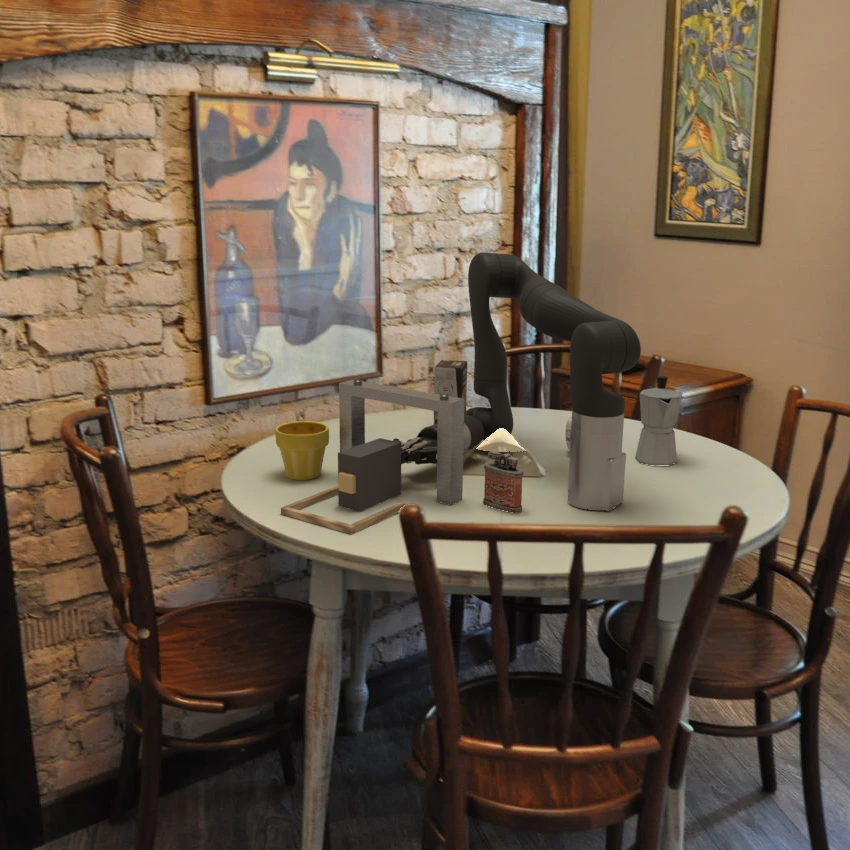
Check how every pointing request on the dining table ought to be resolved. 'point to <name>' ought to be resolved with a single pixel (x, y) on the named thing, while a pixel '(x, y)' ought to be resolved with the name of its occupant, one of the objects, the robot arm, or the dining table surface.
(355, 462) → the dark grey box
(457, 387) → the coffee box
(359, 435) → the grey metal arch
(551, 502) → the dining table surface
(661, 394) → the coffee maker
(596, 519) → the dining table surface
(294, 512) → the bay
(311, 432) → the plant pot
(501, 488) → the lighter
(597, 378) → the robot arm
